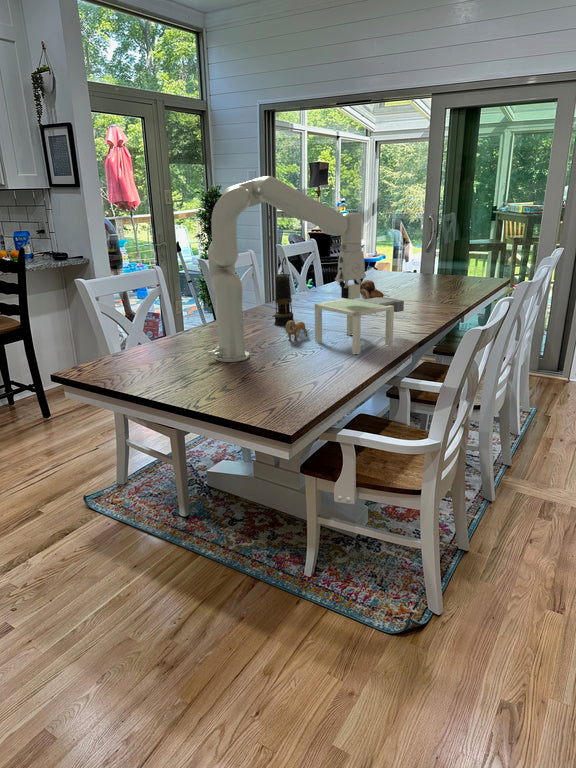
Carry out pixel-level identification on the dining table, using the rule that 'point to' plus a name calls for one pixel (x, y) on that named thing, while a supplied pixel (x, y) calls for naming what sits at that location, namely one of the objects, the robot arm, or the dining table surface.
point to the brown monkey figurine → (370, 290)
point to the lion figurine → (295, 329)
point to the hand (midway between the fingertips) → (350, 296)
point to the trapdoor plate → (368, 304)
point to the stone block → (353, 291)
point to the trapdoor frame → (354, 322)
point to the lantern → (283, 298)
